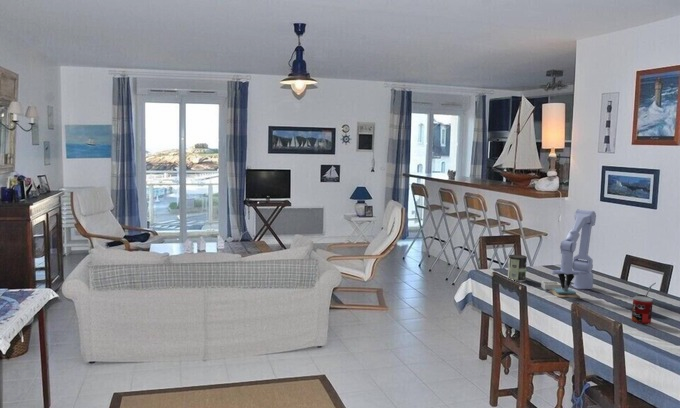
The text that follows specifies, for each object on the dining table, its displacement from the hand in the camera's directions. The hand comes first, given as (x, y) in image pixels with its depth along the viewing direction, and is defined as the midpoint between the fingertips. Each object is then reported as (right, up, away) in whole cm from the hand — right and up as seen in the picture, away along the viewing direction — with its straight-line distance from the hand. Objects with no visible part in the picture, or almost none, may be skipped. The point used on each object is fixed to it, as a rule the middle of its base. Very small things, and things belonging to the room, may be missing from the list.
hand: (564, 287), depth 303 cm
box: (-3, -2, +12) cm, 13 cm away
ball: (-5, -1, +12) cm, 13 cm away
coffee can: (-17, 0, +31) cm, 35 cm away
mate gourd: (+26, -8, -28) cm, 39 cm away
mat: (0, -4, 0) cm, 4 cm away
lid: (0, -2, +1) cm, 2 cm away
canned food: (+18, -10, -42) cm, 47 cm away
